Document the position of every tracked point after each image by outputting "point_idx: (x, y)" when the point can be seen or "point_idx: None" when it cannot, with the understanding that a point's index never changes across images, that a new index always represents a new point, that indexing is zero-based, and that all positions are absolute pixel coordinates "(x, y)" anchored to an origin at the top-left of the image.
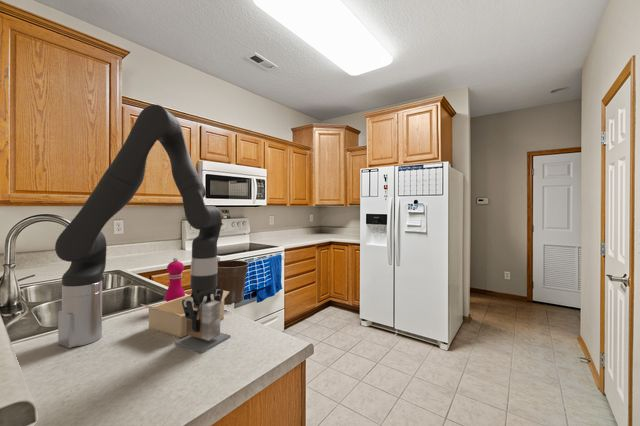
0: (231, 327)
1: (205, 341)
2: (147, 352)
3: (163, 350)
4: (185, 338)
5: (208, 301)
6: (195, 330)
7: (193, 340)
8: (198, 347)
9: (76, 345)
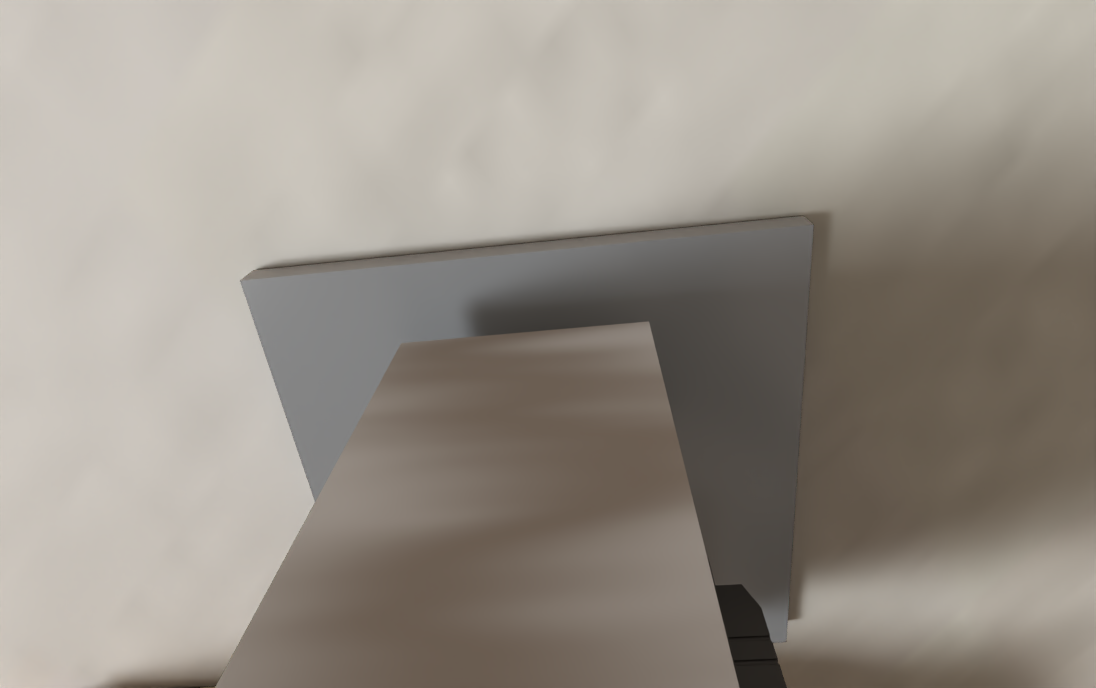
0: (94, 477)
1: None
2: (1025, 670)
3: (935, 601)
4: None
5: None
6: (745, 594)
7: None
8: (761, 345)
9: None
